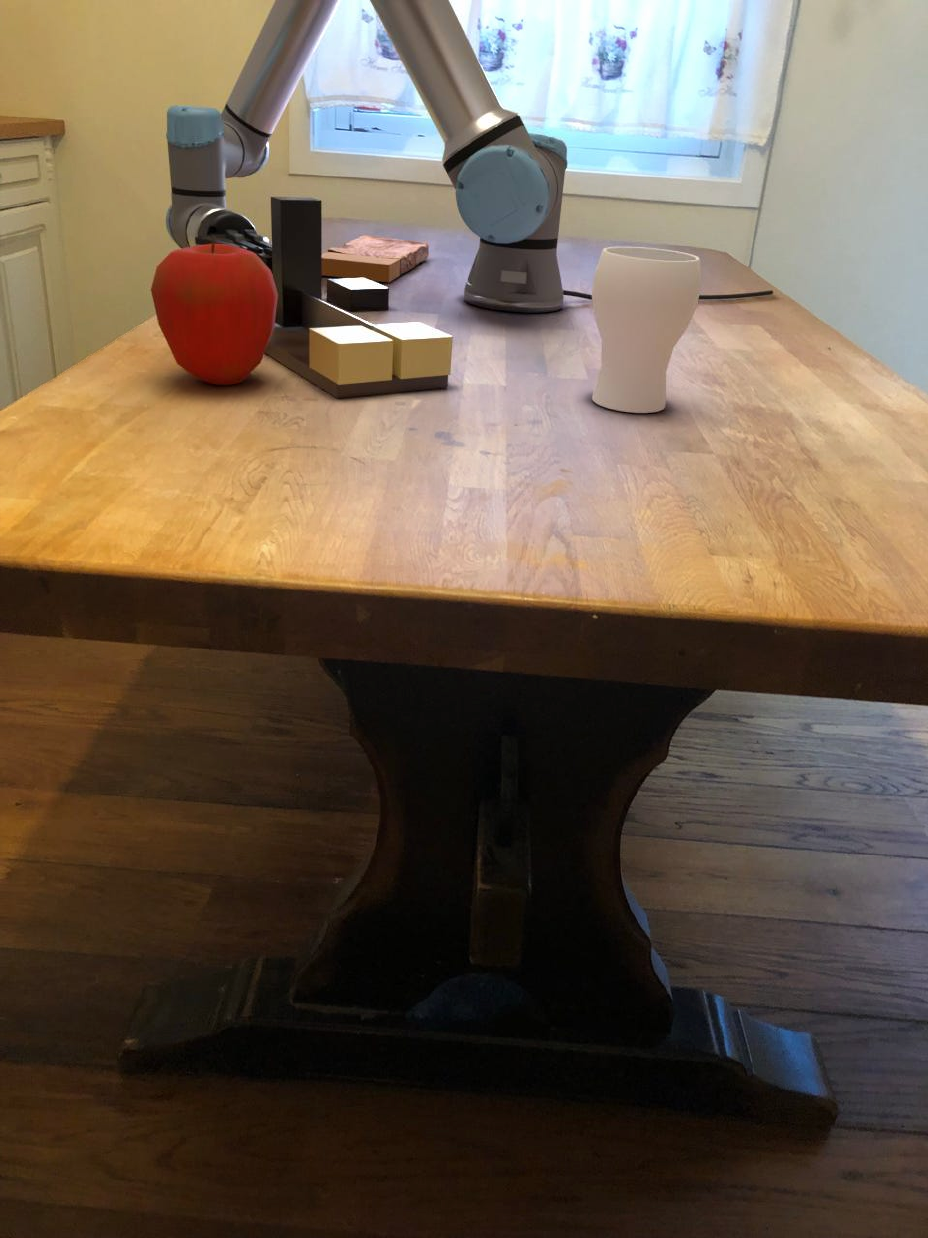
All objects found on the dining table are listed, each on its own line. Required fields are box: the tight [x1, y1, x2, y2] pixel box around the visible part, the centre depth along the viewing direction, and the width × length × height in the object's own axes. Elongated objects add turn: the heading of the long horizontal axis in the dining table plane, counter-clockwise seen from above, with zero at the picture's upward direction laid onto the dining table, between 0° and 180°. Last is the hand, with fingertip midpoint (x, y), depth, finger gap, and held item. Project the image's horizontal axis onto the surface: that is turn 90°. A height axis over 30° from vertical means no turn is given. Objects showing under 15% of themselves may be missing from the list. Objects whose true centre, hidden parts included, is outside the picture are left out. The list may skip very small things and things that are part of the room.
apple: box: [150, 235, 278, 386], centre depth 94 cm, size 12×12×14 cm
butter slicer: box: [270, 196, 374, 331], centre depth 105 cm, size 21×5×14 cm, turn 32°
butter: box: [309, 321, 454, 385], centre depth 99 cm, size 7×13×4 cm, turn 122°
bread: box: [322, 234, 430, 283], centre depth 166 cm, size 13×30×3 cm, turn 169°
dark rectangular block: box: [326, 278, 390, 312], centre depth 136 cm, size 8×6×3 cm
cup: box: [591, 245, 702, 414], centre depth 97 cm, size 11×11×15 cm
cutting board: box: [264, 323, 449, 399], centre depth 110 cm, size 34×13×2 cm, turn 32°
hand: (290, 268), depth 113 cm, fingers closed
